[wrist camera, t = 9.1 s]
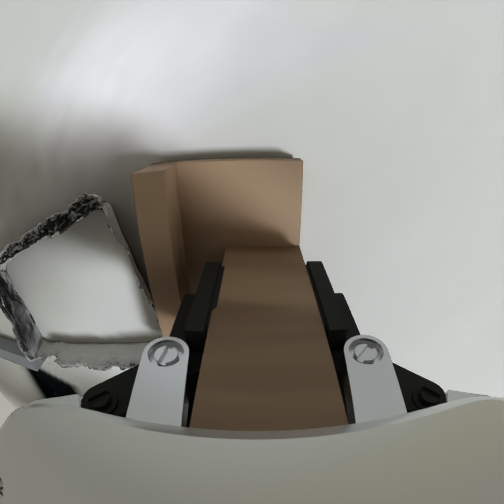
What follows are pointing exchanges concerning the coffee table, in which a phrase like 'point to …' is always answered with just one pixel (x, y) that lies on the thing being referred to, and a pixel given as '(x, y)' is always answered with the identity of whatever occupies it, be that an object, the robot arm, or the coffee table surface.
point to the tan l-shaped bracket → (241, 289)
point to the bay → (17, 354)
